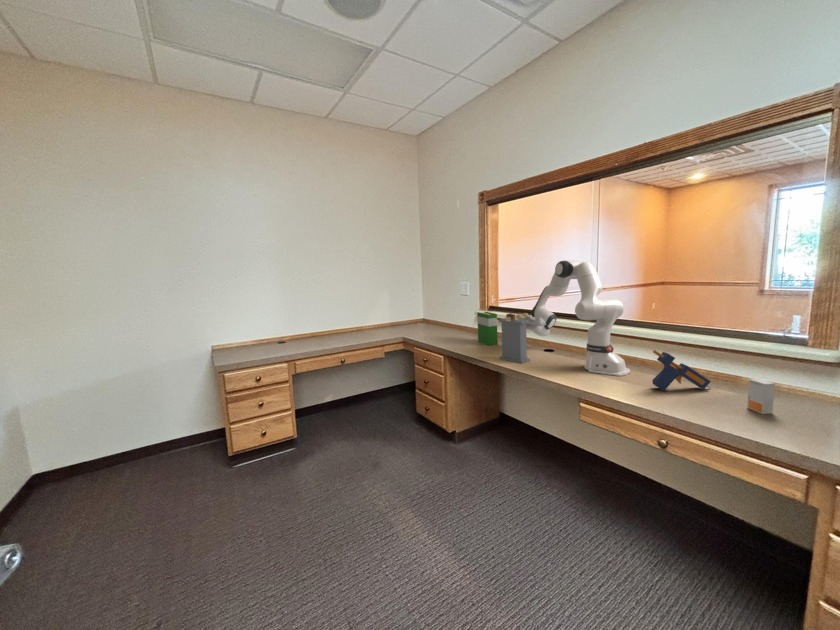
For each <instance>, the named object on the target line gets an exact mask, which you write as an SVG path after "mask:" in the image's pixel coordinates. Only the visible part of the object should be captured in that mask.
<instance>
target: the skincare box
mask: <svg viewBox="0 0 840 630" xmlns="http://www.w3.org/2000/svg"><path fill="white" fill-rule="evenodd" d="M775 388H776V383H775V382H771V381H769V380H765V379H762V378H759V377H758V378H750V379H749V381H748V390H747V391H748V393H747V403H746V405H747V406H746V408H747V409H748V410H751V411H754V412H756V413H759V414H761V415H768V414H769V415H771V414H773V411H774V400H775V390H776V389H775Z"/></svg>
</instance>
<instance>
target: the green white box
mask: <svg viewBox="0 0 840 630" xmlns="http://www.w3.org/2000/svg"><path fill="white" fill-rule="evenodd" d="M476 315H477V317H476V318H477V342H478V343H480V344H482V345H486V346H488V347H490V346H491V347H492V346H498V343H499V342H498V313H494V312H489V311H484V312H480V311H479V312H476Z"/></svg>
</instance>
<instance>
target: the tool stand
mask: <svg viewBox="0 0 840 630" xmlns="http://www.w3.org/2000/svg"><path fill="white" fill-rule="evenodd" d="M498 322H499V323H501V354H502V355H500V356H499V360H502V359H504V360H503V361H507V360H509V361H508V362H512V361H513V362H512V363H517V362H518V363H517V364H525V363H527V362H530V360H531V358H529V357H528V354H527V353H528V352H527V351H528V350H527V348H528V346H527V345H528V343H527V328H526V323H529V320H522V319H518V320H515V321H506V317H505V318H501V319H498Z"/></svg>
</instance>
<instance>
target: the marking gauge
mask: <svg viewBox="0 0 840 630" xmlns="http://www.w3.org/2000/svg"><path fill="white" fill-rule="evenodd" d="M505 316H506V317H505V318H506V321H515V320H518V319H522V318H526V317H528V316H529V313H528V312H524V313H519V314H514V313H512V312H509V313H506V315H505Z"/></svg>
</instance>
